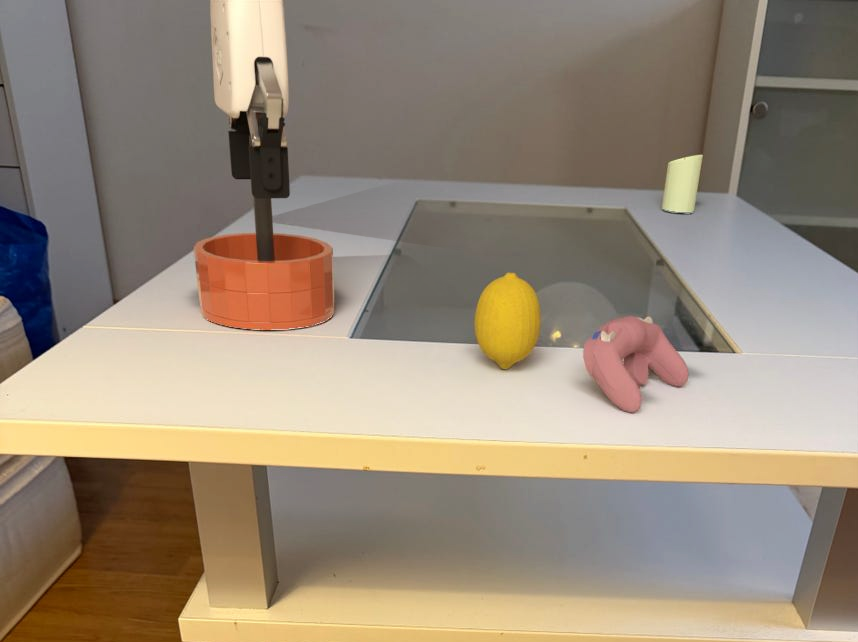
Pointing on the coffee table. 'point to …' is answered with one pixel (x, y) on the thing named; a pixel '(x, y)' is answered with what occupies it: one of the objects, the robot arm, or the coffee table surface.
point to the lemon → (507, 320)
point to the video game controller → (631, 359)
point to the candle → (682, 184)
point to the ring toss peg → (263, 227)
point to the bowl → (265, 281)
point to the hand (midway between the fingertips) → (259, 187)
